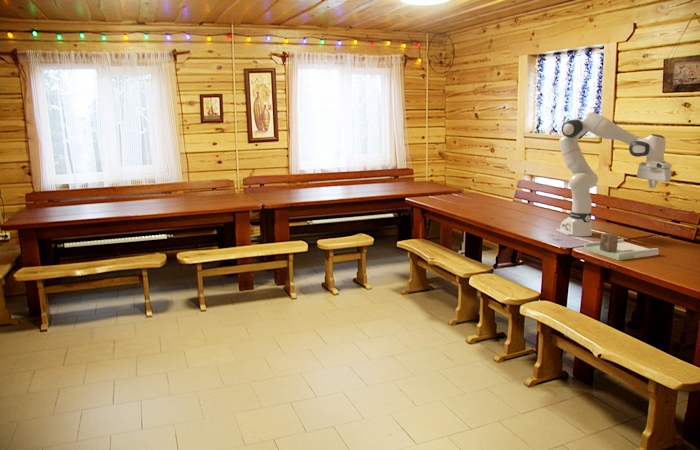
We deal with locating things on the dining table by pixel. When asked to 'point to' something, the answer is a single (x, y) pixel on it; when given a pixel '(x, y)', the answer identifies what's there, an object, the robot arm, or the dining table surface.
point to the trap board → (622, 250)
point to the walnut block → (608, 242)
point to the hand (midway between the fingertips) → (652, 187)
